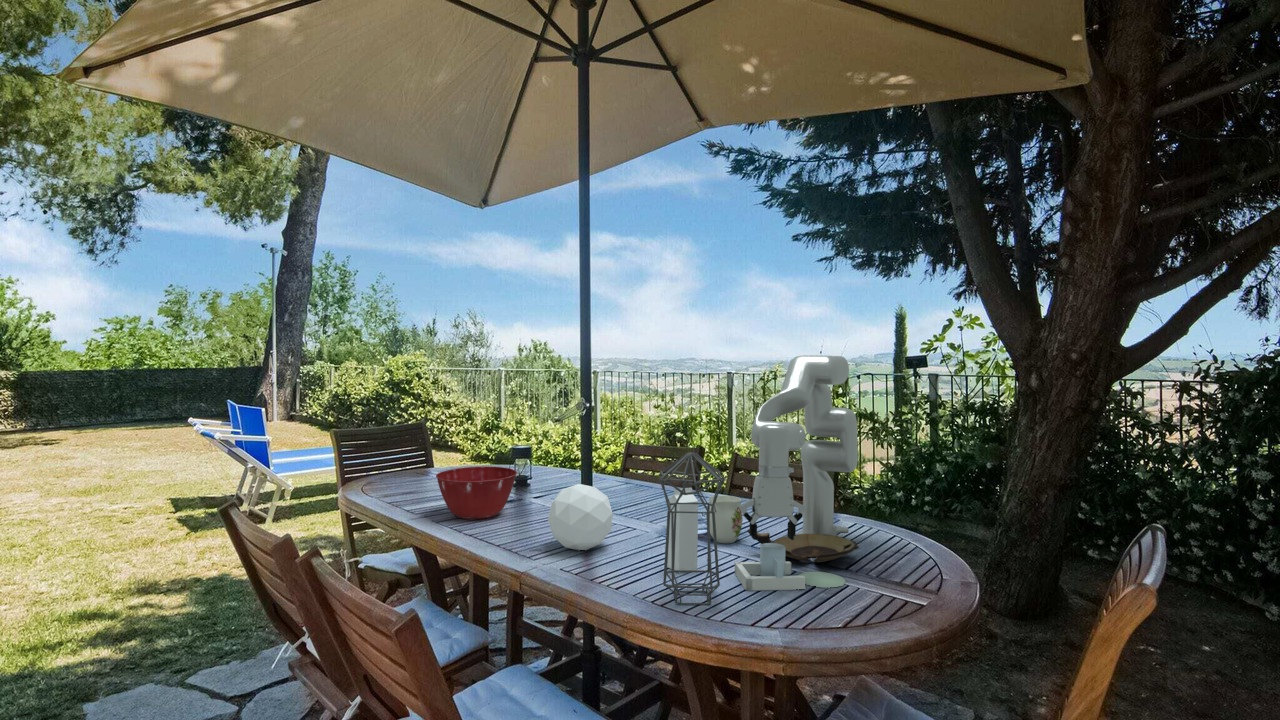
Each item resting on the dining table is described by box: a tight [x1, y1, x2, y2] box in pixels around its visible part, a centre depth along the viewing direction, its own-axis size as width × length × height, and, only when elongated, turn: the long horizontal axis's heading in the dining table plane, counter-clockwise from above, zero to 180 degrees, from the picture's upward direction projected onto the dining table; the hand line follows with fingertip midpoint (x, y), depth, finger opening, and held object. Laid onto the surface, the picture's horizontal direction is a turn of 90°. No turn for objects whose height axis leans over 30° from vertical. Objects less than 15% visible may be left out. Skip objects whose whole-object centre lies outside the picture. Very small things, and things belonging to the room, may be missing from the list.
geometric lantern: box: [658, 451, 727, 606], centre depth 158 cm, size 16×16×35 cm
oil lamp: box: [746, 528, 860, 563], centre depth 191 cm, size 22×30×8 cm
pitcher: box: [708, 495, 743, 544], centre depth 209 cm, size 11×18×14 cm, turn 148°
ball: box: [547, 483, 614, 551], centre depth 198 cm, size 19×20×20 cm
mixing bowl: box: [435, 466, 518, 520], centre depth 237 cm, size 28×28×16 cm
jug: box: [759, 543, 786, 578], centre depth 168 cm, size 10×6×9 cm, turn 4°
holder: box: [734, 560, 806, 592], centre depth 170 cm, size 15×13×3 cm
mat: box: [797, 571, 846, 589], centre depth 171 cm, size 12×12×1 cm
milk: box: [667, 487, 699, 574], centre depth 179 cm, size 6×6×22 cm
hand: (772, 538), depth 169 cm, fingers open, 9 cm apart
